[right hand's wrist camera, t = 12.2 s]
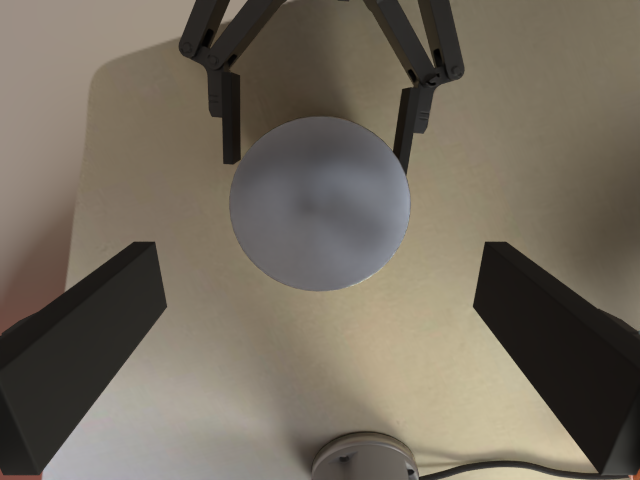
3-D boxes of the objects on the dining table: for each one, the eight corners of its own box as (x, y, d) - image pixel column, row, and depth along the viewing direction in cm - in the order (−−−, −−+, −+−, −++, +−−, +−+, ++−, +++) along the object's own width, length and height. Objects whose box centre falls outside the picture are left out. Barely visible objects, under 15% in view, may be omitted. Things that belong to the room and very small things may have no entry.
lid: (239, 275, 24) (233, 288, 22) (231, 111, 20) (223, 111, 18) (393, 281, 24) (398, 294, 22) (415, 119, 20) (423, 120, 18)
